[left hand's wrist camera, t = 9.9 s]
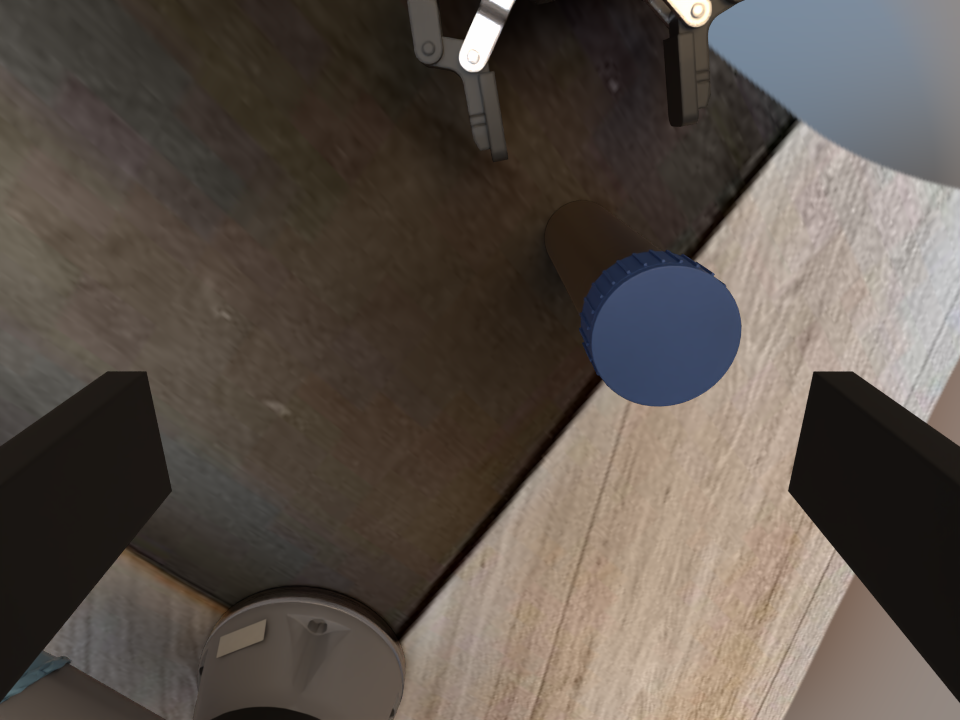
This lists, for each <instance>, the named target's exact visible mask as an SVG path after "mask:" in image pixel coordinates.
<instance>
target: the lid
mask: <svg viewBox="0 0 960 720" xmlns="http://www.w3.org/2000/svg"><path fill="white" fill-rule="evenodd" d="M602 272H603V273H602V274H601V276H600V277H599V278H598V279H597V280H596V281H595V283H592V284H591V285H592V287H591V289H590V291H589V293H588V294H587V296H586V297H584V301H585V302H584V305H583V309H582V313H581V312H580V317H581V328H579V331H580V333H581V335H582V337H583V340H584V342H583V343H582V344H583V346H584V349H585V351H586V353H587V355H588V357H589V359H590V362H591V363H592V365H593V367H594V369H595V371H596V373H597V375H600V377H601V378H602V379H603V381H604V382H605V383H606V385H607V386H608V387H610V389H611V390H613V391H614V392H615V393H617V394H618V395H620V396H621V397H623V398H625V399H627V400H629V401H632V402H634V403H638V404H641V405H647V406H671V405H675V404H680V403H683V402H686V401H689V400H691V399H693V398H695V397H698V396H699V395H701V394H703V393H704V392H706V391H707V390H709V389H710V388H711V387H712V386H714V385H715V384H716V383H717V382H718V381H719V380H720V379H721V378H722V377H723V375H724V374H725V373H726V372H727V370H728V369H729V367H730V366H731V364H732V362H733V360H734V358H735V356H736V354H737V350H738V347H739V344H740V338H741V318H740V313H739V309H738V307H737V304H736V302H735V300H734V298H733V296H732V295H731V293H730V292H729V290H728V289H727V288H726V285H725V284H724V283H722V282H721V281H719V280H718V279H717V278H715V277H714V275H715V274H714V273H712V272H711V271H710V270H708V269H707V268H705V267H704V266H702V265H701V264H699V263H698V262H694V261H693V260H691V259H690V258H688V257H687V256H685V255H684V254H682V255H681V256H680V255H677V254H674V253H672V252H670V251H669V250H666V251H665V252H663V251H653V250H649V252H642V253H638V254H636V253H632V255H631V256H629V257H626V258H624V259H622V260H617V261H616V263H615V264H614V265H612V266H611V267H609V268H608V269H607V270H606V271H605V270H604V271H602Z"/></svg>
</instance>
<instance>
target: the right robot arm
mask: <svg viewBox="0 0 960 720" xmlns="http://www.w3.org/2000/svg"><path fill="white" fill-rule="evenodd" d="M528 1H532V2H536V4H537V5H539V4H544V3H549V2H553V1H555V0H528ZM642 1H644V2H645V3H646V4H647V5H648V6H649V7H650V8H651V9H652V10H653V12H654V13H655V14H656V15H657V16H658V17H659V18H660V20H661V21H662V22H663V23H664V24H665V25H666V26H667V27H668V29H669V34H670V38H668V39H666V40H663V43H664V58H665V72H666V86H667V100H668V115H669V121H670V124H671V126H676V127H681V126H687V125H692V124H696V123H697V121H698V109H701V108H706V107H707V105H708V101H709V98H710V95H711V92H710V71H709V49H708V30H709V27H710V24H711V23H712V21H713V20H714V18H715V17H717V16H718V15H719V14H721V13H722V12H724V11H726V10H727V9H729V8H731V7H732V6H734V5H735V4H737V3H739V2H741V1H744V0H642ZM515 2H516V0H481V3H480V6H479V8H478V11H477V13H476V15H475V18H474V20H473V22H472V25H471V27H470V29H469V31H468V34H467V36H466V38H465V40H460V39H455V38H449V37H444V36H443V31H442V23H441V16H440V8H439V0H407V3H408V10H409V16H410V23H411V30H412V37H413V44H414V51H415V54H416V56H417V58H418V59H419V60H420V61H421V62H422V63H423V64H424V65H425V66H427V67H429V68H437V69H443V70H448V71H452V72H455V73H456V74H458V75H459V76H460V78H461V79H462V81H463V84H464V89H465V94H466V100H467V105H468V111H469V117H470V122H471V128H472V133H473V139H474V142H475V143H476V145H477V146H478V148H479V150H480V151H482V150H487V149H491V155H492V160H493V162H497V161H502V160H507V159H508V155H507V148H506V142H505V136H504V130H503V123H502V117H501V111H500V105H499V99H498V92H497V86H496V80H495V74H494V71H492V72H490V71H489V65H488V60H489V58H490V56H491V54H492V51H493V49H494V47H495V45H496V43H497V40H498V38H499V36H500V34H501V32H502V30H503V28H504V26H505V24H506V21H507V19H508V17H509V15H510V13H511V11H512V8H513V6H514V4H515Z"/></svg>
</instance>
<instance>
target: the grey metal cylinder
mask: <svg viewBox="0 0 960 720" xmlns="http://www.w3.org/2000/svg"><path fill="white" fill-rule="evenodd" d="M544 240H545V247H546V250H547V253H548V255H549V257H550V259H551V261H552V263H553V265H554V266H555V268H556V270H557V272H558V274H559V276H560V278H561V280H562V282H563V284H564V286H565V288H566V290H567V292H568V294H569V296H570V298H571V300H572V302H573V304H574V306H575V308H576V310H577V312H578V314H579V316H580V312H581V313H582V309H583V305H584V302H585V301H584V297H586V296H587V294H588V293H589V291H590V289H591V287H592V285H591V284H592V283H595V281H596V280H597V279H598V278H599V277H600V276H601V274H602V273H603V272H602V271H604V270H605V271H606V270H607V269H608V268H609V267H611V266H612V265H614V264H615V263H616V261H617V260H622V259H624V258H626V257H629V256H631V255H632V253H636V254H638V253H642V252H649V250H653V251H662V250H660V249H659V248H658V247H656V246H655V245H654V244H652V243H651V242H650V241H648V240H647V239H645V238H644V237H643V236H641V235H640V234H639V233H637V232H636V231H635V230H633V229H632V228H631V227H629V226H628V225H626V224H625V223H624V222H622V221H621V220H620V219H618V218H617V217H616V216H614V215H613V214H612V213H610V212H609V211H608V210H606V209H605V208H603V207H602V206H600V205H599V204H597V203H594V202H591V201H586V200H580V201H574V202H570V203H568V204H566V205H564V206H562V207H561V208H559V209H558V210H557V211H556V212H555V213H554V214H553V215H552V217H551V218H550V220H549V222H548V224H547V226H546V230H545V237H544ZM580 318H581V317H580Z"/></svg>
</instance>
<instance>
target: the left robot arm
mask: <svg viewBox="0 0 960 720" xmlns="http://www.w3.org/2000/svg"><path fill="white" fill-rule="evenodd" d="M171 491H172V489H171V484H170V480H169V475H168V470H167V466H166V461H165V456H164V452H163V447H162V442H161V437H160V433H159V428H158V423H157V419H156V414H155V409H154V405H153V400H152V395H151V391H150V386H149V381H148V377H147V372H106V373H105V374H103V375H102V376H100V377H99V378H98V379H96V380H95V381H93V382H92V383H90V384H89V385H88V386H86V387H85V388H83V389H82V390H80V391H79V392H78V393H76V394H75V395H73V396H72V397H70V398H69V399H68V400H66V401H65V402H63V403H62V404H60V405H59V406H58V407H56V408H55V409H53V410H52V411H50V412H49V413H48V414H46V415H45V416H43V417H42V418H40V419H39V420H38V421H36V422H35V423H33V424H32V425H30V426H29V427H28V428H26V429H25V430H23V431H22V432H20V433H19V434H18V435H16V436H15V437H13V438H12V439H10V440H9V441H8V442H6V443H5V444H3V445H2V446H0V720H165V719H163V718H162V717H160V716H158V715H157V714H155V713H153V712H151V711H150V710H148V709H146V708H144V707H143V706H141V705H139V704H137V703H136V702H134V701H132V700H130V699H129V698H127V697H125V696H124V695H122V694H120V693H118V692H117V691H115V690H113V689H111V688H110V687H108V686H106V685H104V684H103V683H101V682H99V681H98V680H96V679H94V678H92V677H91V676H89V675H87V674H85V673H84V672H82V671H80V670H78V669H77V668H75V667H73V666H71V665H70V663H71V660H70V659H69V658H67V657H65V656H61V657H55V656H53V655H51V654H49V653H47V652H45V651H43V649H44V648H45V647H46V646H47V644H48V643H49V642H50V641H51V640H52V638H53V637H54V636H55V635H56V633H57V632H58V631H59V630H60V628H61V627H62V626H63V625H64V623H65V622H66V621H67V620H68V619H69V617H70V616H71V615H72V614H73V612H74V611H75V610H76V609H77V607H78V606H79V605H80V604H81V602H82V601H83V600H84V599H85V598H86V596H87V595H88V594H89V593H90V591H91V590H92V589H93V588H94V586H95V585H96V584H97V583H98V582H99V580H100V579H101V578H102V577H103V575H104V574H105V573H106V572H107V570H108V569H109V568H110V567H111V565H112V564H113V563H114V562H115V561H116V559H117V558H118V557H119V556H120V554H121V553H122V552H123V551H124V549H125V548H126V547H127V546H128V544H129V543H130V542H131V541H132V540H133V538H134V537H135V536H136V535H137V533H138V532H139V531H140V530H141V528H142V527H143V526H144V525H145V523H146V522H147V521H148V520H149V519H150V517H151V516H152V515H153V514H154V512H155V511H156V510H157V509H158V507H159V506H160V505H161V504H162V503H163V501H164V500H165V499H166V498H167V496H168V495H169V494H170V493H171ZM788 491H789V493H790V494H791V495H792V496H793V498H794V499H795V500H796V501H797V503H798V504H799V505H800V506H801V507H802V509H803V510H804V511H805V512H806V514H807V515H808V516H809V517H810V519H811V520H812V521H813V522H814V523H815V525H816V526H817V527H818V528H819V530H820V531H821V532H822V533H823V535H824V536H825V537H826V538H827V540H828V541H829V542H830V543H831V544H832V546H833V547H834V548H835V549H836V551H837V552H838V553H839V554H840V556H841V557H842V558H843V559H844V561H845V562H846V563H847V564H848V565H849V567H850V568H851V569H852V570H853V572H854V573H855V574H856V575H857V577H858V578H859V579H860V580H861V582H862V583H863V584H864V585H865V586H866V588H867V589H868V590H869V591H870V593H871V594H872V595H873V596H874V598H875V599H876V600H877V601H878V602H879V604H880V605H881V606H882V607H883V609H884V610H885V611H886V612H887V614H888V615H889V616H890V617H891V619H892V620H893V621H894V622H895V623H896V625H897V626H898V627H899V628H900V630H901V631H902V632H903V633H904V635H905V636H906V637H907V638H908V639H909V641H910V642H911V643H912V644H913V646H914V647H915V648H916V649H917V651H918V652H919V653H920V654H921V656H922V657H923V658H924V659H925V660H926V662H927V663H928V664H929V665H930V667H931V668H932V669H933V670H934V672H935V673H936V674H937V675H938V677H939V678H940V679H941V680H942V681H943V683H944V684H945V685H946V686H947V688H948V689H949V690H950V691H951V693H952V694H953V695H954V696H955V698H956V699H957V700H958V701H959V702H960V446H958V445H957V444H955V443H954V442H952V441H951V440H950V439H948V438H947V437H945V436H944V435H942V434H941V433H940V432H938V431H937V430H935V429H934V428H932V427H931V426H930V425H928V424H927V423H925V422H924V421H922V420H921V419H920V418H918V417H917V416H915V415H914V414H912V413H911V412H910V411H908V410H907V409H905V408H904V407H902V406H901V405H900V404H898V403H897V402H895V401H894V400H892V399H891V398H890V397H888V396H887V395H885V394H884V393H882V392H881V391H880V390H878V389H877V388H875V387H874V386H872V385H871V384H870V383H868V382H867V381H865V380H864V379H862V378H861V377H860V376H858V375H857V374H855V373H854V372H813V377H812V381H811V386H810V391H809V395H808V400H807V405H806V409H805V414H804V419H803V423H802V428H801V433H800V437H799V442H798V447H797V452H796V456H795V461H794V466H793V470H792V475H791V480H790V484H789V489H788ZM405 667H406V665H405V657H404V653H403V650H402V647H401V644H400V642H399V640H398V638H397V637H396V635H395V633H394V632H393V630H392V629H391V628H390V627H389V625H388V624H387V623H386V622H385V621H384V620H383V619H382V618H381V617H380V616H379V615H377V614H376V613H375V612H374V611H372V610H371V609H369V608H368V607H367V606H365V605H363V604H362V603H360V602H358V601H356V600H354V599H352V598H350V597H347V596H345V595H342V594H339V593H336V592H332V591H329V590H324V589H319V588H311V587H283V588H276V589H271V590H266V591H263V592H259V593H257V594H254V595H252V596H249V597H247V598H245V599H243V600H241V601H240V602H238V603H237V604H235V605H234V606H233V607H231V608H230V609H229V610H228V611H227V612H226V613H225V614H224V615H223V616H222V617H221V618H220V619H219V621H218V622H217V624H216V625H215V627H214V629H213V631H212V633H211V634H210V636H209V638H208V640H207V642H206V644H205V647H204V649H203V651H202V655H201V659H200V663H199V667H198V676H197V686H198V698H197V701H196V705H195V710H194V716H193V720H393V719H394V717H395V715H396V713H397V710H398V707H399V705H400V702H401V698H402V694H403V688H404V680H405Z"/></svg>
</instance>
